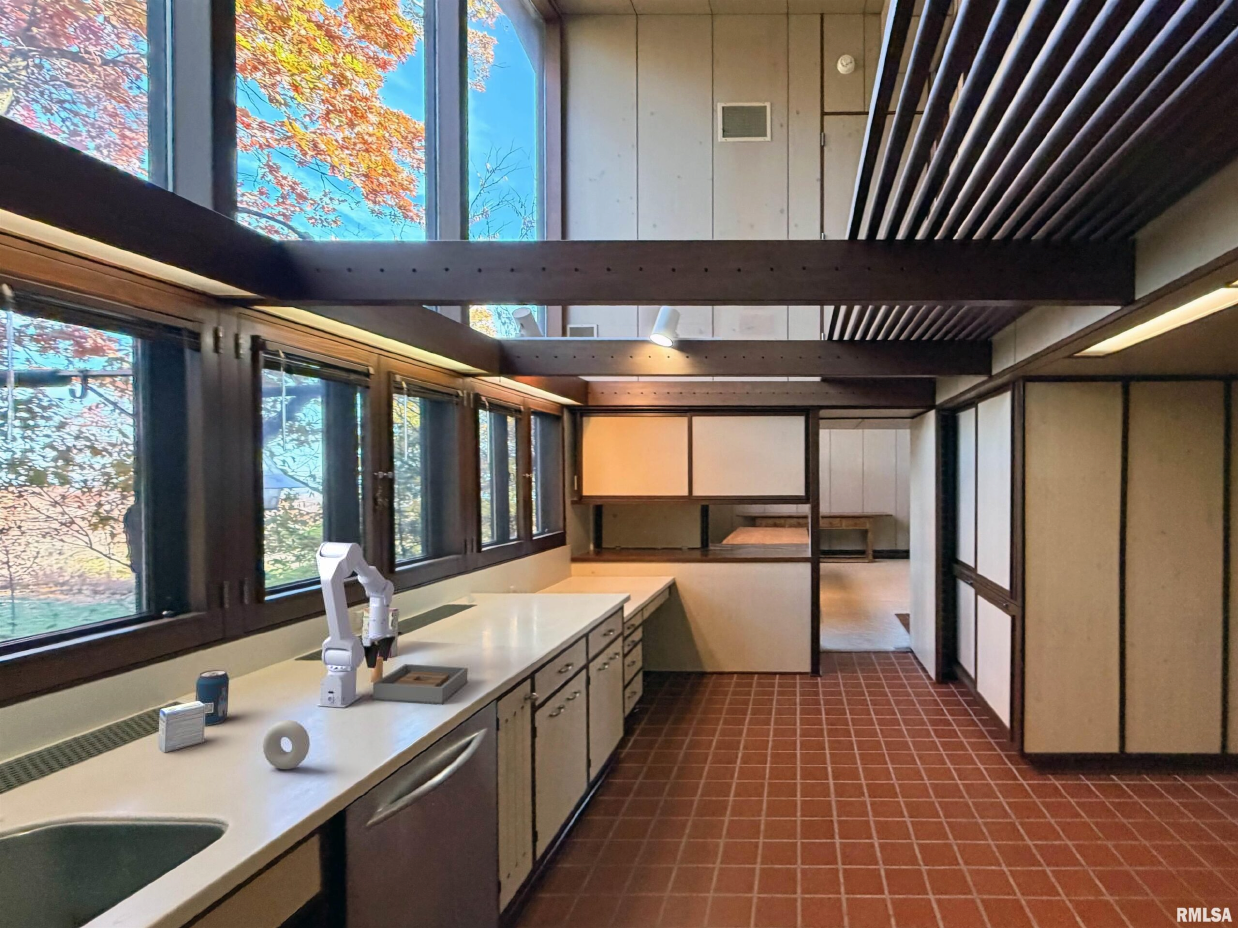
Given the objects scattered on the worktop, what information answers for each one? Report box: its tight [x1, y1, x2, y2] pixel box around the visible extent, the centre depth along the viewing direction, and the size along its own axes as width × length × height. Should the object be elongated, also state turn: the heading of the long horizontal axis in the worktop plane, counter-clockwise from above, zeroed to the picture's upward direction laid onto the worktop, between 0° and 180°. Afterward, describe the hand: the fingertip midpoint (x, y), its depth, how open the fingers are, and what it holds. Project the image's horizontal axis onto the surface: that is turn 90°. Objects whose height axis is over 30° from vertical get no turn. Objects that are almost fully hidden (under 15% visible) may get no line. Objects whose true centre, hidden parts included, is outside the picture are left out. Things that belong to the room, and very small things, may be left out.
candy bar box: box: [361, 606, 400, 659], centre depth 223 cm, size 11×5×16 cm, turn 84°
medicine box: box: [157, 701, 206, 753], centre depth 146 cm, size 8×4×9 cm, turn 141°
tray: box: [372, 663, 469, 705], centre depth 187 cm, size 20×20×4 cm
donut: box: [262, 719, 311, 770], centre depth 135 cm, size 10×4×10 cm, turn 82°
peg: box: [370, 657, 384, 684], centre depth 195 cm, size 3×3×7 cm
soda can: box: [194, 669, 230, 726], centre depth 160 cm, size 7×7×12 cm
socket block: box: [394, 671, 450, 687], centre depth 187 cm, size 12×12×3 cm
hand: (377, 664), depth 195 cm, fingers open, 7 cm apart
